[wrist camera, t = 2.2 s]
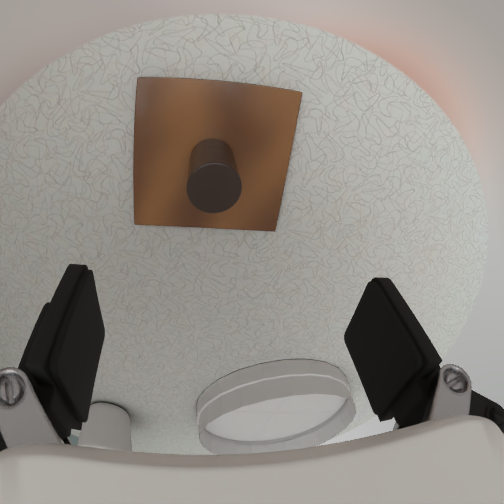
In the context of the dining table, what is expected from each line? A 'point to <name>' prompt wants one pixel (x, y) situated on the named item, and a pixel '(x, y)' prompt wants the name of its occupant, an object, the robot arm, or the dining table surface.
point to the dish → (274, 408)
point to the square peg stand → (211, 152)
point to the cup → (106, 428)
